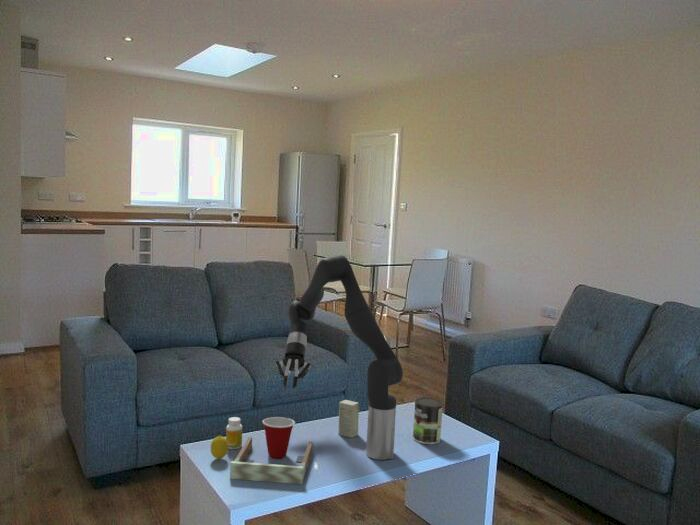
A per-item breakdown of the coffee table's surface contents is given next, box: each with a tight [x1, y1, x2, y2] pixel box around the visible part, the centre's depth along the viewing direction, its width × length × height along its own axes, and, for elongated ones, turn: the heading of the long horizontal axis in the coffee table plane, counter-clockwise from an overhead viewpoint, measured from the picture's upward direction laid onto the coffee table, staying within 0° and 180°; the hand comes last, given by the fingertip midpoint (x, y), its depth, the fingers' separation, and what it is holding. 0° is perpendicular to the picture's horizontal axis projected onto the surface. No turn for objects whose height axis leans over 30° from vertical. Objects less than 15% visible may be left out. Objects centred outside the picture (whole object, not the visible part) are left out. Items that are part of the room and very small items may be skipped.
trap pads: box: [243, 455, 304, 464], centre depth 196 cm, size 22×6×1 cm, turn 106°
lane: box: [229, 436, 314, 485], centre depth 194 cm, size 22×24×5 cm
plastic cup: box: [261, 416, 296, 460], centre depth 201 cm, size 11×11×12 cm
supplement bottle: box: [225, 416, 243, 450], centre depth 206 cm, size 5×5×10 cm
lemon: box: [210, 435, 229, 461], centre depth 196 cm, size 6×6×8 cm
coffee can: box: [412, 396, 444, 445], centre depth 221 cm, size 10×10×14 cm
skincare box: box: [338, 399, 360, 439], centre depth 222 cm, size 6×4×12 cm
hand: (289, 386), depth 220 cm, fingers open, 2 cm apart
